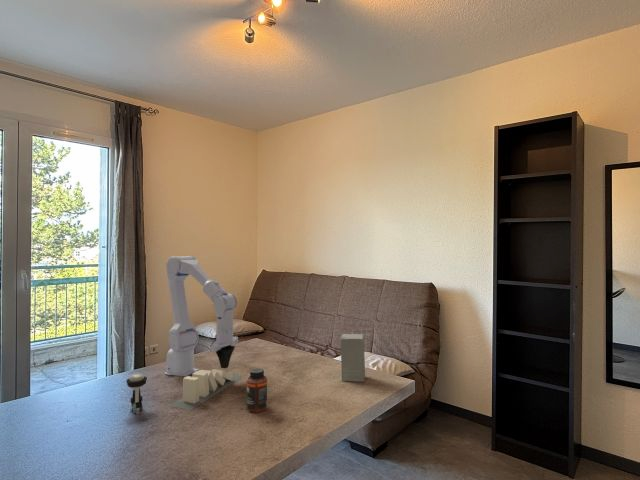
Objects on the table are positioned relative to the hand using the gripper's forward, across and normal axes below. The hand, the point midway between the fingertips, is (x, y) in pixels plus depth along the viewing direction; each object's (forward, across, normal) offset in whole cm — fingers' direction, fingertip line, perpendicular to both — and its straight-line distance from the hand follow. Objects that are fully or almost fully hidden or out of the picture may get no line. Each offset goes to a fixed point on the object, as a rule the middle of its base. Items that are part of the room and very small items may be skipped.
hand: (224, 367), depth 128 cm
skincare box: (+5, +18, -42) cm, 46 cm away
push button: (+5, -28, +11) cm, 30 cm away
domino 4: (+4, -3, 0) cm, 5 cm away
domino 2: (+4, -13, 0) cm, 14 cm away
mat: (+5, -8, 0) cm, 9 cm away
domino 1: (+5, -18, 0) cm, 19 cm away
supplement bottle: (+5, -15, -21) cm, 26 cm away
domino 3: (+4, -8, 0) cm, 9 cm away
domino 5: (+4, +2, 0) cm, 4 cm away
